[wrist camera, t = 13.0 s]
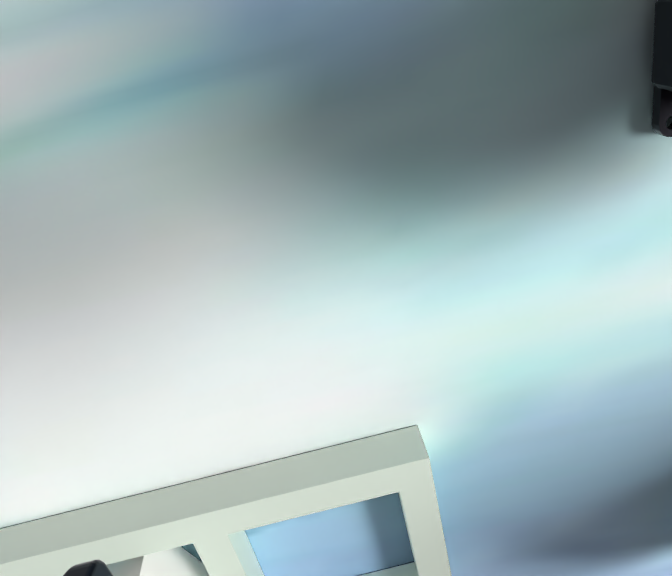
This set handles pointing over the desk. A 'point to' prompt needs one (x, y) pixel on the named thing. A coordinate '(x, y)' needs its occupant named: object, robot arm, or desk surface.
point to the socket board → (242, 512)
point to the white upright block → (160, 565)
